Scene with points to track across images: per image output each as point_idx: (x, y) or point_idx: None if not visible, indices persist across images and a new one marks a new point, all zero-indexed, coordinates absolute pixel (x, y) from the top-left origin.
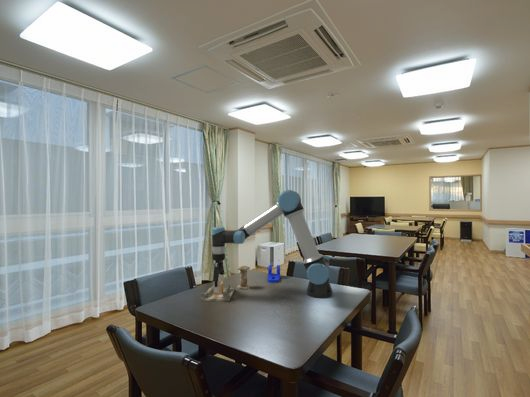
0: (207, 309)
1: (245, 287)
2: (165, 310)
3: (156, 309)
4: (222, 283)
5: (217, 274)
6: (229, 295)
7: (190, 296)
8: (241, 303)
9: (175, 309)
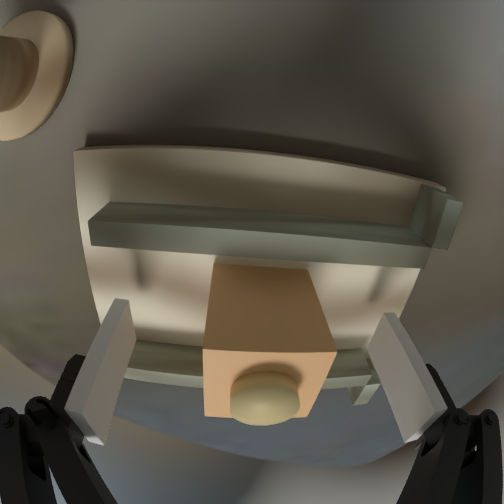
0: (493, 301)
1: (54, 37)
2: None
3: (392, 441)
4: (278, 347)
5: (500, 473)
6: (444, 193)
7: None
8: (490, 91)
9: None
